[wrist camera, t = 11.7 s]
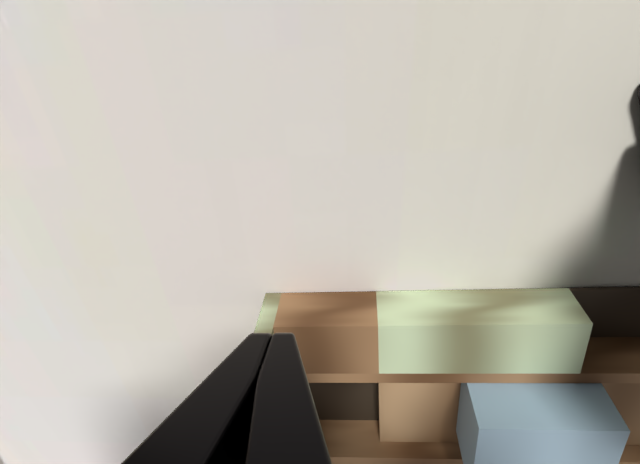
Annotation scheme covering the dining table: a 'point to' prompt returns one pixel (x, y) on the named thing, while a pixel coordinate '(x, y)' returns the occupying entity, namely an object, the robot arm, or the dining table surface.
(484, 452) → the block
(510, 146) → the dining table surface
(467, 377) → the tray
